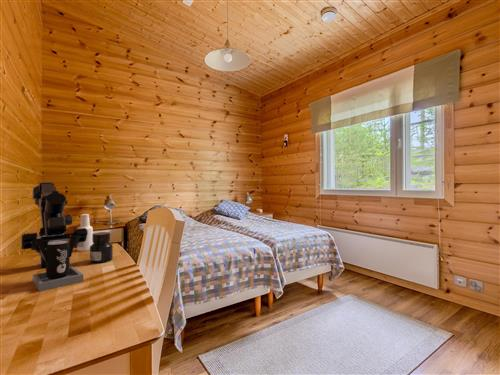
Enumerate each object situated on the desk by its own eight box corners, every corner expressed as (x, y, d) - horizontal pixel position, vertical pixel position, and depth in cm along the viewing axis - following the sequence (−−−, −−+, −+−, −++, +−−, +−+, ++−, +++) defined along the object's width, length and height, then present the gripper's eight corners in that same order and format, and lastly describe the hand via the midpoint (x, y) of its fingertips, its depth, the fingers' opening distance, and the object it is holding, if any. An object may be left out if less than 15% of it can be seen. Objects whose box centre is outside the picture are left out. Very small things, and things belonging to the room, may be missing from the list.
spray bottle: (81, 248, 137) (81, 213, 137) (95, 247, 138) (95, 213, 137) (74, 251, 130) (74, 215, 130) (88, 251, 131) (88, 215, 130)
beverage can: (49, 281, 86) (49, 245, 86) (43, 276, 90) (43, 242, 90) (72, 275, 92) (72, 241, 91) (65, 271, 96) (65, 238, 95)
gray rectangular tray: (32, 281, 90) (32, 274, 90) (73, 273, 99) (73, 266, 99) (39, 291, 82) (39, 283, 82) (83, 281, 91) (83, 274, 91)
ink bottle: (86, 260, 115) (86, 233, 115) (107, 256, 122) (107, 230, 122) (94, 265, 109) (94, 236, 109) (116, 260, 116) (116, 233, 116)
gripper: (21, 209, 87) (23, 249, 79) (86, 206, 100) (93, 240, 92) (20, 229, 93) (22, 268, 85) (82, 224, 106) (88, 258, 98)
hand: (58, 258), depth 90 cm, fingers closed on beverage can, 6 cm apart
